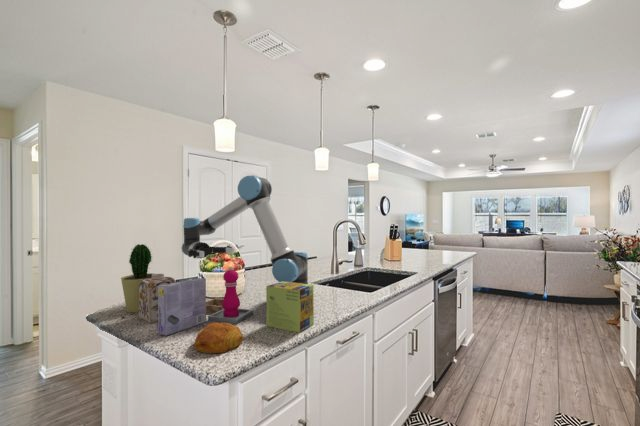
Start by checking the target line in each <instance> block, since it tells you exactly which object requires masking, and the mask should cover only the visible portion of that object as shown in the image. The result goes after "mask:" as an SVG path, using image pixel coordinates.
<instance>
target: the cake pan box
mask: <svg viewBox="0 0 640 426" xmlns="http://www.w3.org/2000/svg"><path fill="white" fill-rule="evenodd" d="M206 285H207V280H206V277H197V278H193V279H187V280H181V281H175V283H170V284H165V285H159V286H158V321H157V326H158V327H157V331H158V334H159V335H161V336H162V335H163V336H164V337H167V336H170V335H173V334H175V333H178V332H181V331H184V330H188V329H191V328H193V327H196V326H198V325H201V324H205V323H207V312H206V302H207V300H206V299H207V295H206V293H207V290H206V289H207V286H206Z"/></svg>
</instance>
